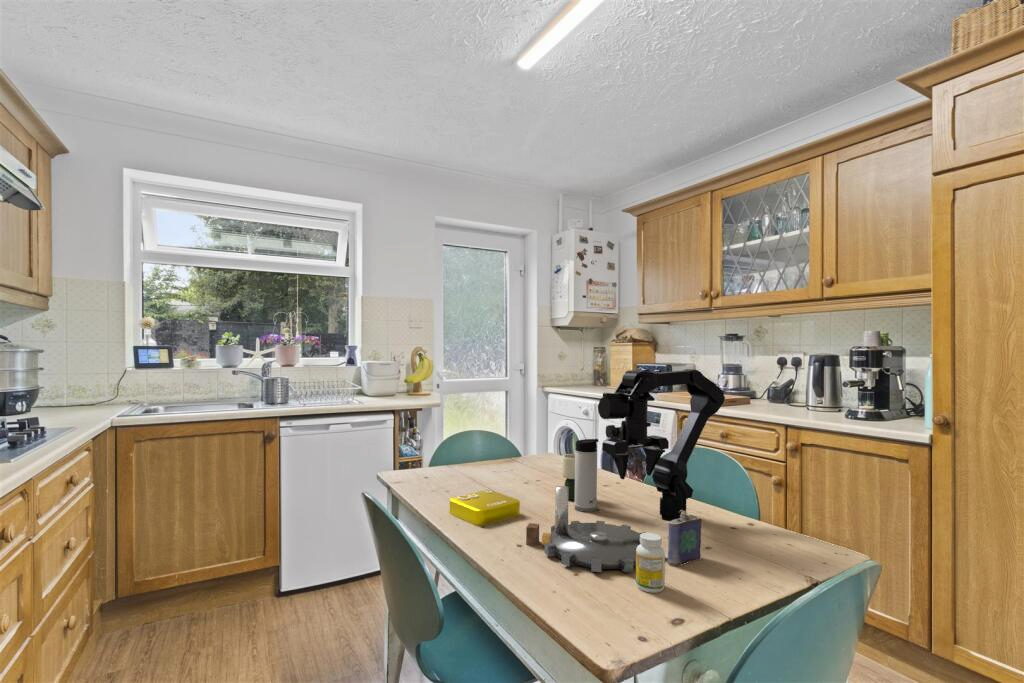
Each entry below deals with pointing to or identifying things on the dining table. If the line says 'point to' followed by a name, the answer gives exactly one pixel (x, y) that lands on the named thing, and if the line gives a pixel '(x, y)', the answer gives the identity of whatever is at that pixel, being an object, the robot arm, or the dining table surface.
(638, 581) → the supplement bottle
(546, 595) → the dining table surface
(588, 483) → the travel mug
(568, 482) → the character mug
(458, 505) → the element tile
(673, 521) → the flask
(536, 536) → the brown rectangular block
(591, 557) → the sprocket
